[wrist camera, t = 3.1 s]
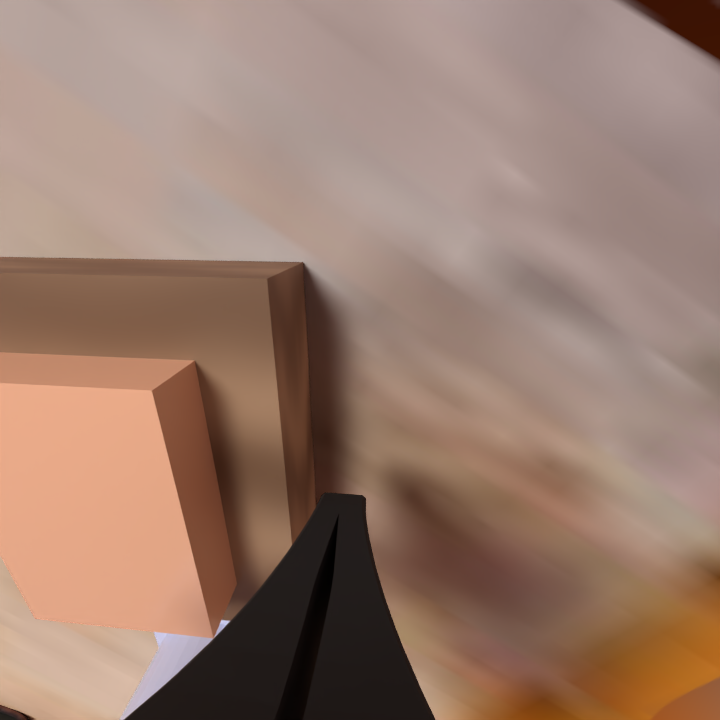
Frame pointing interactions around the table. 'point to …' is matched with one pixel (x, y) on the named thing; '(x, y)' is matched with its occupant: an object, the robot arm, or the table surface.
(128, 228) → the table surface
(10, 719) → the diary
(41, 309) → the board
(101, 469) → the block
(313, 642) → the robot arm
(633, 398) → the table surface
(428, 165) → the table surface
